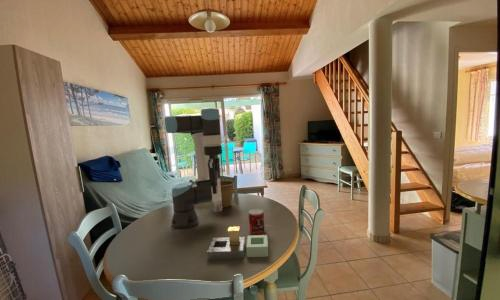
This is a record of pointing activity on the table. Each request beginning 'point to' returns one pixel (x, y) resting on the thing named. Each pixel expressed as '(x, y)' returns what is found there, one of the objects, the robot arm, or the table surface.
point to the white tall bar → (218, 204)
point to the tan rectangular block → (234, 236)
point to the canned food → (256, 221)
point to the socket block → (225, 249)
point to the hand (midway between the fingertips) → (216, 198)
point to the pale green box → (257, 246)
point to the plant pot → (226, 192)
